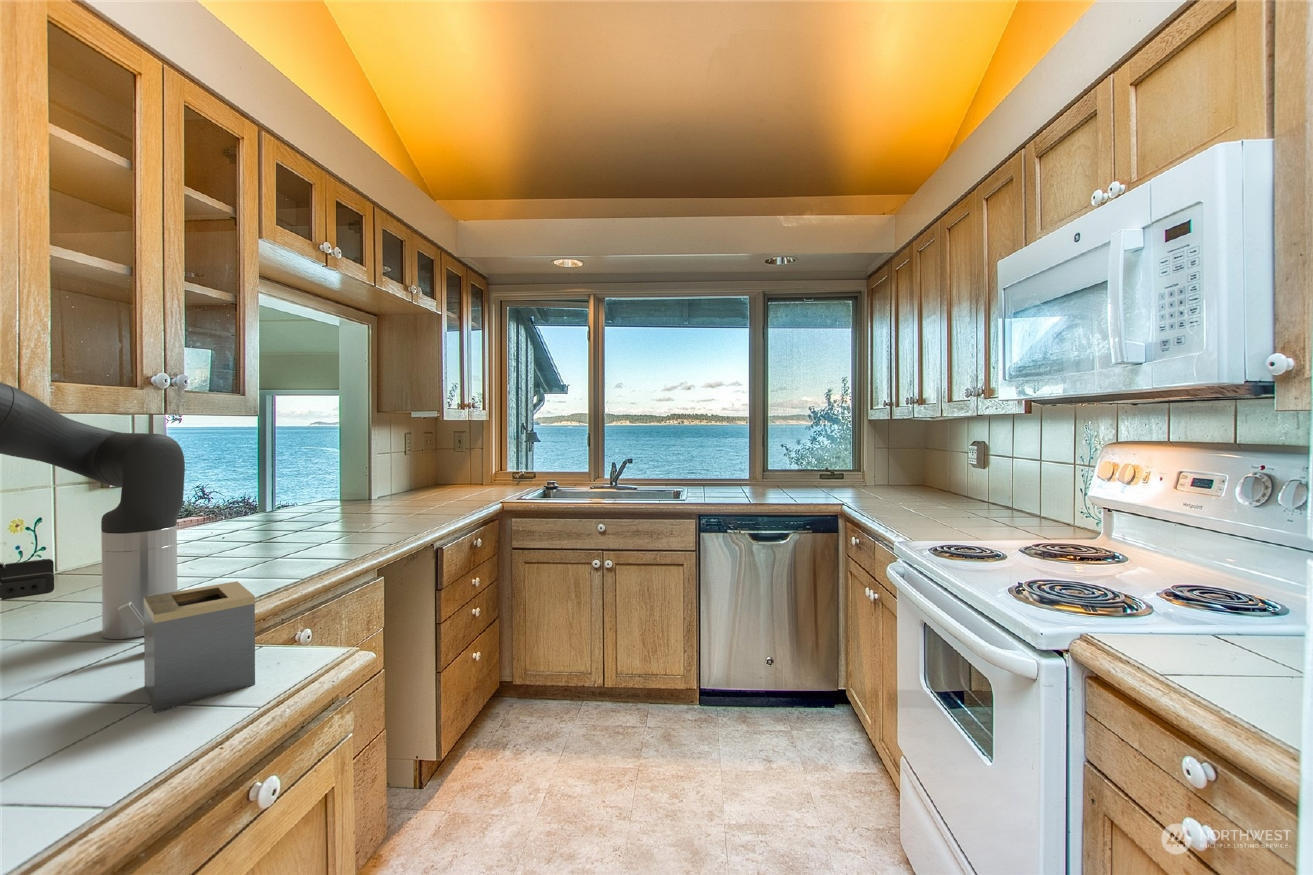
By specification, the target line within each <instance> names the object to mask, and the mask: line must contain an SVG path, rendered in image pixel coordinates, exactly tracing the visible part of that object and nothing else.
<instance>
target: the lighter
mask: <svg viewBox="0 0 1313 875" xmlns="http://www.w3.org/2000/svg"><path fill="white" fill-rule="evenodd" d="M118 611H119V612H120V614H121V615H122V616H123V618H124V619H125V620H126V622H127V623H128V624H129V626H130V627H131V628H132V629H133V631H134V632H135V631H137V630H139V629H141V628H143V627H144V619H143V617H142V616H141V615H140V613H139V612H138V611H137V609H136V608H135V607H134V605H133V604H132V603H131V602H129V603H127V604H124V605H122V606H120V607H119V608H118Z"/></svg>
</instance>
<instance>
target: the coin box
mask: <svg viewBox="0 0 1313 875" xmlns="http://www.w3.org/2000/svg"><path fill="white" fill-rule="evenodd" d="M255 598H256V596H255V595H254V594H253V593H252V592H251V591H249V589H247V588H246V587H245V586H244V585H242V584H241V583H240V582H239V581H230V582H225V583H219V584H211V585H207V586H201V587H200V586H199V587H196V588H189V589H184V590H183V589H182V590H177V591H176V592H170V593H164V594H158V595H152V596H146V597H144V636H143V638H144V639H143V640H144V641H143V642H144V643H143V644H144V645H143V648H144V653H143V654H144V655H143V656H144V663H143V664H144V688H145V691H146V694H147V696H148V699H149V702H150V704H151V707H152V709H153V712H154V713H155V714H157V713H159V712H163V711H167V710H171V709H173V708H177V707H180V706H184V705H187V704H190V703H192V704H193V703H194V702H197V701H201V700H205V699H209V698H212V697H216V696H219V695H222V694H225V693H230V692H234V691H236V690H240V689H244V688H246V687H250V686H253V685H256V613H255V612H256V603H255V602H256V601H255V600H256V599H255Z"/></svg>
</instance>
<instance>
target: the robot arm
mask: <svg viewBox="0 0 1313 875" xmlns="http://www.w3.org/2000/svg"><path fill="white" fill-rule="evenodd" d="M0 454H1V455H5V456H10V457H16V458H20V459H21V458H22V459H26V460H33V461H36V462H42V463H45V464H49V465H52V466H55V467H58V468H61V469H63V470H67V471H69V472H72V473H74V474H78V475H80V476H83V477H85V478H88V479H91V480H94V481H96V482H99V483H101V484H104V485H107V486H112V487H117V488H121V489H120V490H121V491H120V492H121V494H120V501H119V504H118V505H117V506H116V507H115V508H114V509H111V510H109V511H107V512H105V513H104V514H103V515H102V517H101V522H100V525H101V526H100V528H101V588H102V589H101V602H102V603H101V605H102V606H101V610H102V611H101V614H102V615H101V617H102V618H101V619H102V624H101V627H102V631H101V632H102V637H103V638H104V639H111V640H122V639H123V640H125V639H133V638H138V637H144V627H143V628H141V629H139V630H137V631H135V632H134V631H133V629H132V628H131V627H130V626H129V624H128V623H127V622H126V620H125V619H124V618H123V616H122V615H121V614H120V612H119V611H118V608H119V607H120V606H122V605H124V604H127V603H129V602H131V603H132V604H133V605H134V607H135V608H136V609H137V611H138V612H139V613H140V615H141V616H142V617H143V619H144V597H146V596H152V595H158V594H164V593H170V592H176V591H178V539H177V538H178V530H177V528H178V516H179V513H180V511H181V509H182V508H183V507H182V506H183V503H184V494H185V492H184V490H185V475H186V474H185V473H186V472H185V470H186V468H185V467H186V462H185V455H184V452H183V449H182V447H181V446H180V444H179V443H178V441H176V439H174V438H172V437H171V436H168V435H166V434H162V433H161V434H160V433H151V432H150V433H148V432H146V433H143V432H142V433H141V432H140V433H139V432H136V433H135V432H122V431H121V432H120V431H114V430H109V429H105V428H101V427H97V426H93V425H91V424H87V423H83V422H80V421H78V420H74V419H70V418H68V417H67V416H64V415H62V414H60V413H59V412H57V411H56V410H54V409H53V408H51V407H50V406H48V404H46V403H45V402H43V401H41V400H40V399H38V398H37V397H34V396H33V395H31V394H29V393H27V392H26V391H24V390H21V389H19V388H17V387H15V386H12V385H10V384H7V383H4V382H1V381H0ZM54 566H55V564H54V560H53V559H52V558H51V559H50V558H43V559H35V560H25V561H18V562H17V561H15V562H8V563H5V562H0V599H1V601H5V600H12V599H19V598H26V597H27V598H28V597H33V596H39V595H45V594H51V593H52V592H54V589H55V574H54V572H55V569H54V568H55V567H54Z"/></svg>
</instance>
